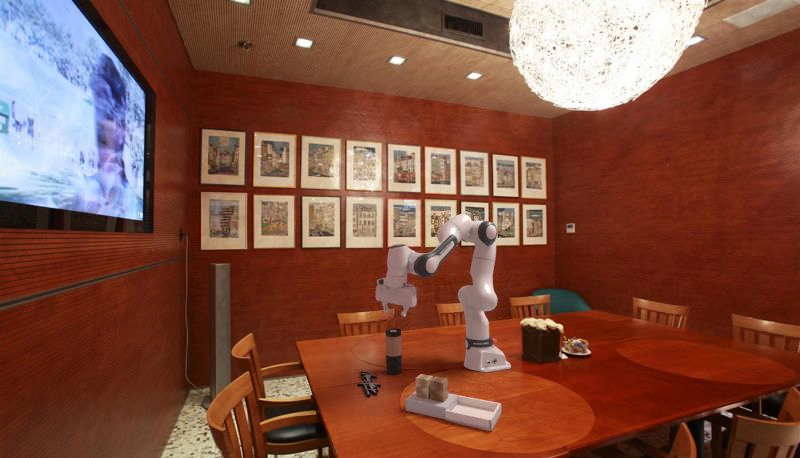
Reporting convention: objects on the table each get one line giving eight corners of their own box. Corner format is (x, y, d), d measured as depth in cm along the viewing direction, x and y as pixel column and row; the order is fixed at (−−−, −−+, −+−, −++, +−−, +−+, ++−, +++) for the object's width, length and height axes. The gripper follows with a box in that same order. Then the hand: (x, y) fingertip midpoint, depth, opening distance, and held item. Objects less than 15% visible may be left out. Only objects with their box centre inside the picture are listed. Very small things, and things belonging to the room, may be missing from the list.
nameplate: (352, 372, 175) (373, 369, 177) (352, 375, 175) (373, 373, 177) (361, 395, 148) (386, 392, 151) (361, 399, 148) (386, 396, 151)
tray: (445, 420, 128) (445, 410, 128) (459, 404, 141) (458, 395, 141) (491, 431, 121) (491, 420, 121) (501, 413, 133) (501, 403, 133)
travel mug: (400, 375, 172) (399, 332, 173) (384, 374, 173) (383, 331, 174) (403, 369, 179) (402, 328, 180) (388, 369, 181) (387, 327, 182)
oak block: (416, 396, 139) (415, 377, 139) (421, 392, 143) (420, 374, 143) (428, 399, 137) (427, 380, 137) (433, 394, 141) (432, 376, 141)
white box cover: (405, 410, 137) (405, 399, 137) (419, 397, 147) (419, 387, 147) (446, 419, 129) (446, 408, 129) (458, 405, 140) (457, 395, 140)
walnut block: (430, 399, 136) (430, 380, 136) (435, 395, 140) (435, 376, 140) (443, 402, 134) (443, 382, 134) (448, 397, 138) (447, 378, 138)
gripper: (420, 284, 155) (418, 317, 155) (383, 278, 168) (381, 309, 167) (411, 285, 150) (409, 319, 150) (374, 279, 163) (372, 311, 162)
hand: (394, 314), depth 159 cm, fingers open, 8 cm apart
